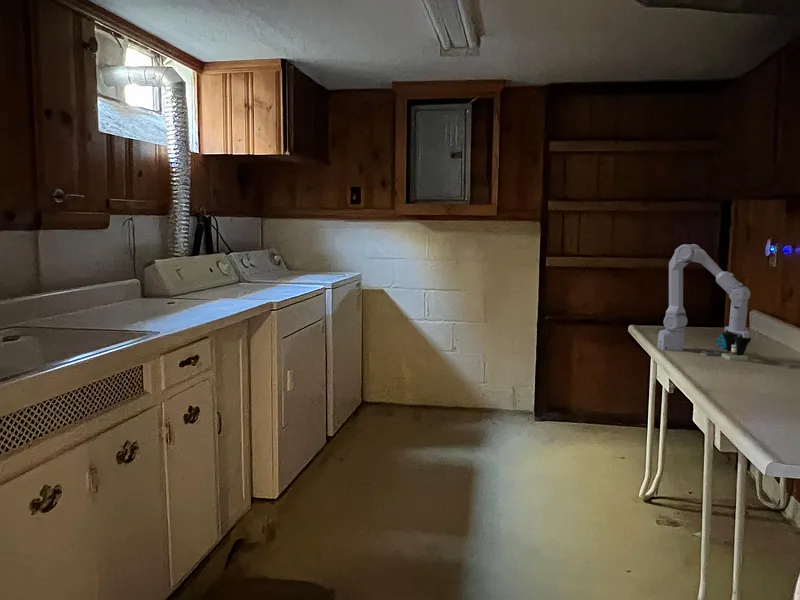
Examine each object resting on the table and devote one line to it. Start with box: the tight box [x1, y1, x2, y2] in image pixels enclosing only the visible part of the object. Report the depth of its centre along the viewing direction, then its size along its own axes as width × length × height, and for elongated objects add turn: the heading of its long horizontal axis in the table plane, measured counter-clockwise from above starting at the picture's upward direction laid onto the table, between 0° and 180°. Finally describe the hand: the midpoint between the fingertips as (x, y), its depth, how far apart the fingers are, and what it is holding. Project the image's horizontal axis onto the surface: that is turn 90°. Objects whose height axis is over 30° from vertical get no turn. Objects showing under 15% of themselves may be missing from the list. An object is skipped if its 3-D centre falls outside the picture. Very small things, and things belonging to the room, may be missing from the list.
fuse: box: [730, 345, 738, 356], centre depth 259 cm, size 3×3×6 cm
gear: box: [716, 331, 740, 351], centre depth 281 cm, size 11×6×10 cm
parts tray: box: [721, 352, 749, 361], centre depth 259 cm, size 7×6×2 cm
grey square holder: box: [699, 349, 722, 357], centre depth 266 cm, size 7×6×2 cm
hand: (734, 353), depth 259 cm, fingers open, 7 cm apart
